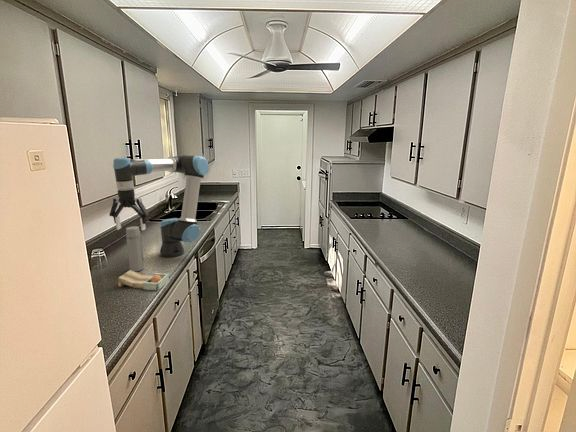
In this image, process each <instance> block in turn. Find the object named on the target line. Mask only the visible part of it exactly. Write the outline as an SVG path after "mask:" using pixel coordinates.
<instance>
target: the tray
mask: <svg viewBox="0 0 576 432" xmlns="http://www.w3.org/2000/svg"><path fill="white" fill-rule="evenodd" d="M155 275H159V276H160V277H161V278H162V279H161V280H160V281H158V282H157V283H152V282H143V288H142V289H143V290H148V291H150V290H151V291H159V290H161V288H162V287H164V286H165V285H166V284H167V283H168V282H169V281H170V273H158V272H157V273H156V272H155V273H154V274H153V276H155Z"/></svg>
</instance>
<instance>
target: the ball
mask: <svg viewBox="0 0 576 432" xmlns="http://www.w3.org/2000/svg"><path fill="white" fill-rule="evenodd" d="M152 276H153V277H152V279H151V282H152V283H157V282H158V281H160V280H161V279H162V278H161V277H160V276H159V275H155V276H154V275H152Z"/></svg>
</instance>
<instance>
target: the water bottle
mask: <svg viewBox="0 0 576 432" xmlns="http://www.w3.org/2000/svg"><path fill="white" fill-rule="evenodd" d="M125 238H126V245H127V246H126V247H127V254H128V262H129V265H128V266H129V270H132V271H134V272H137V273H138V272H141V271H142V270H143V269H144V262H147V261H146V260H147V259H144V255H145V257H147V254H146V250H145V246H144V244H142V243H144V241H143V235H142V234H141V231H140V227H139V226H137V225H136V226H128V227H126V228H125Z"/></svg>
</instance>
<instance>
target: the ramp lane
mask: <svg viewBox="0 0 576 432" xmlns="http://www.w3.org/2000/svg"><path fill="white" fill-rule="evenodd" d="M153 276H154V275H149V274H148V275H146V274H142V273H140V272H138V271H137V272H134V271H132V270H130V269H129V270H127V272H125V273H123V274H122V275H120V276H119V277H118V278H117V287H119V288H122V287H123V286H124V285H125V286H128V287H131V288H135V289H143V282H151V279H152V277H153Z"/></svg>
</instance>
